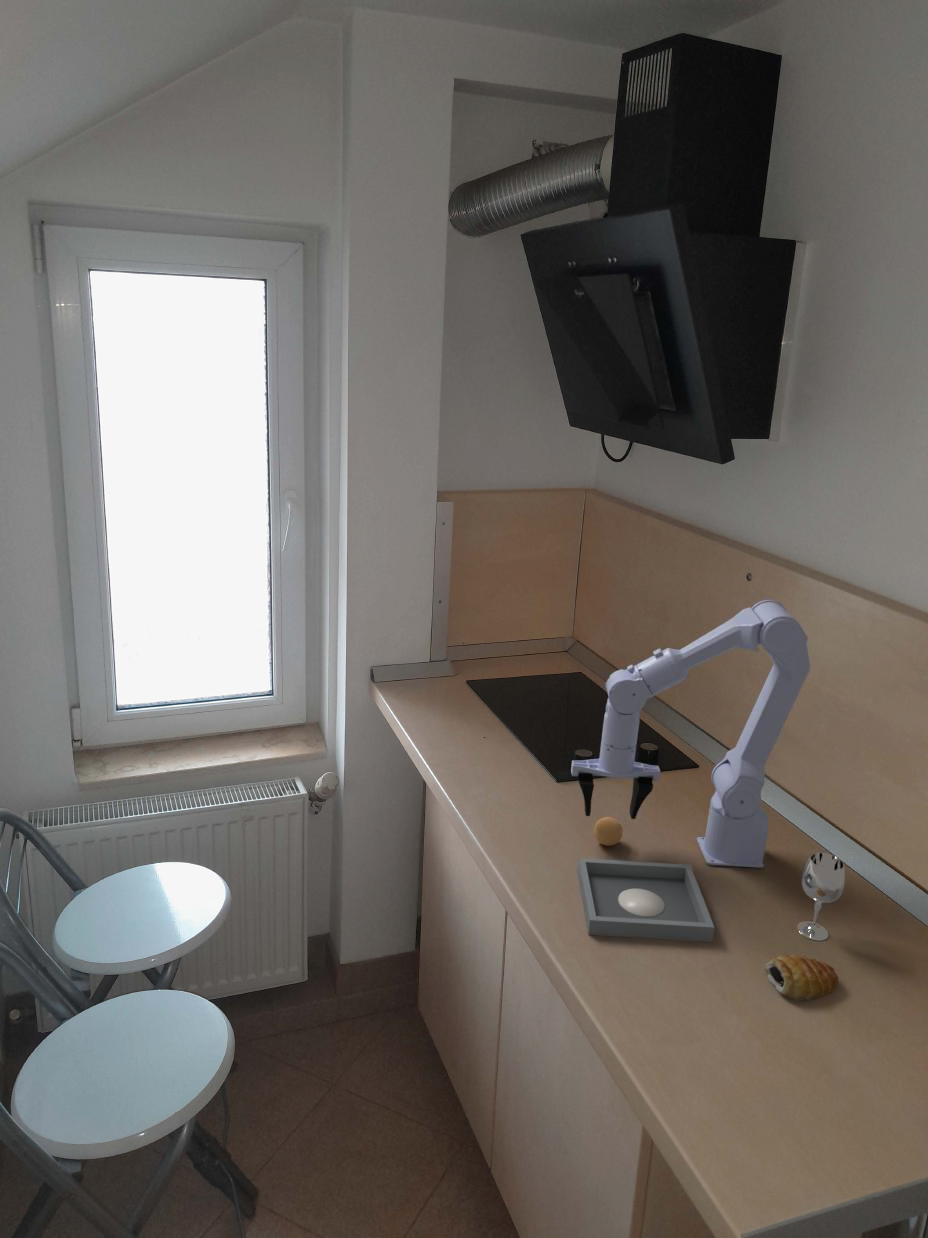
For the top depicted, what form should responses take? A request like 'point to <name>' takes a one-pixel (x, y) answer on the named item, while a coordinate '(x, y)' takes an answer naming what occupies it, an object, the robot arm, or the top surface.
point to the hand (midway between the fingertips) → (609, 814)
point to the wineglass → (821, 889)
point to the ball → (608, 831)
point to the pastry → (801, 977)
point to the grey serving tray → (643, 900)
